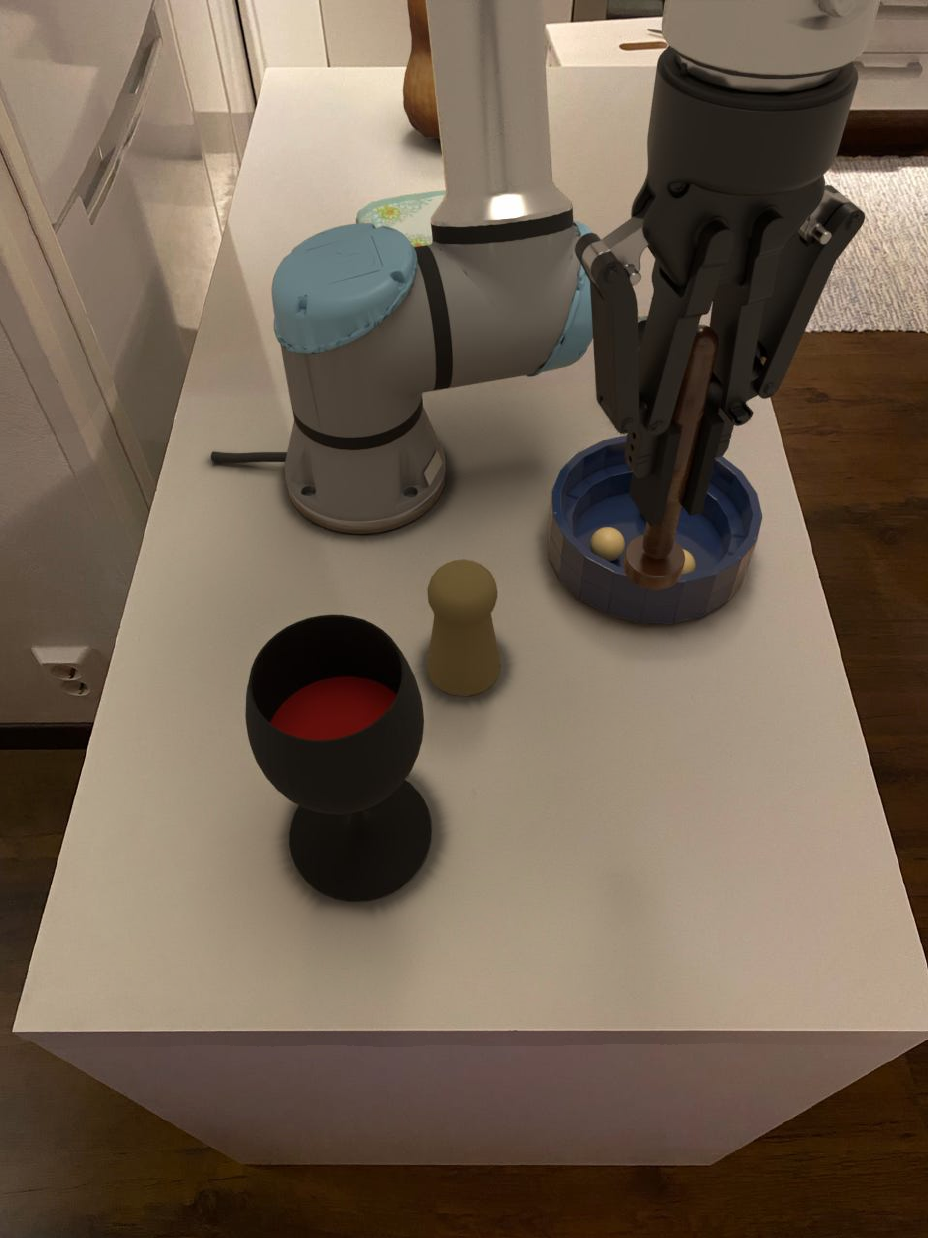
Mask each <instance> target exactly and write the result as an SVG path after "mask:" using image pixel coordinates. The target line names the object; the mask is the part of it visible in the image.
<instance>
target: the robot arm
mask: <svg viewBox="0 0 928 1238" xmlns="http://www.w3.org/2000/svg"><path fill="white" fill-rule="evenodd" d="M881 1H882V0H664V6H663V13H662V19H661V36H662V38H663V39H664V40H665V42H666V44H667V47H666V48H665V49H664V50H663V51H662V52H661V54H660V55H659V57H658V59H657V63H656V70H655V75H654V76H655V77H654V83H653V92H652V98H651V99H652V100H651V107H650V114H649V122H648V129H647V136H646V137H647V138H646V153H647V171H646V175H645V178H644V181H643V183H642V185H641V187H640V190H639V191H638V193H637V194H636V196H635V198H634V199H633V203H632V205H631V210H630V211H631V212H630V217H631V218H629V219H627V220H626V221H625V222H624V223H622V224H620V225H619V226H618V227H616V228H615V229H614V230H613V231H611V232H610V233H608V234H607V235H605V236H604V237H602V238H601V237H600V236H599V235H598V233H594V232H593V231H592V229H591V228H590V227H589V226H588V225H586V224H585V223H583V222H580V221H578V220H574V206H573V201H572V200H571V199H570V198H569V197H568V196H567V195H566V194H564V192H562V191H561V190H560V188H558V187H557V185H556V184H555V182H554V180H553V169H552V152H551V133H550V115H549V114H550V113H549V97H548V96H549V95H548V79H547V77H548V76H547V62H546V61H547V60H546V59H547V58H546V44H545V43H546V42H545V41H546V40H545V26H544V25H545V24H544V23H545V22H544V8H543V7H544V6H543V0H426V8H427V18H428V27H429V37H430V46H431V55H432V65H433V74H434V84H435V93H436V103H437V112H438V122H439V131H440V149H441V158H442V168H443V169H442V170H443V176H444V177H443V179H444V188H445V190H446V194H445V196H444V199H443V201H442V202H441V203H440V205H439V206H438V208H437V209H436V210H435V212H434V213H433V215H432V216H431V230H432V244H430V245H424V246H417V247H413V246H412V244H411V243H410V241H409V239H408V238H407V237H406V236H405V235H404V234H402V233H401V232H400V231H398V230H396V229H394V228H391V227H388V226H384V225H383V226H381V227H379V228H376V227H375V226H374V224H372V223H357V224H356V223H349V224H342V225H339V226H336V227H330V228H328V229H326V230H323V231H320V232H318V233H316V234H314V235H312V236H309V237H307V238H306V239H304V240H303V241H301V242H299V243H298V244H297V245H296V246H295V247H293V248H292V249H291V251H290V252H289V253H288V254H287V255H286V256H284V258H283V259H282V260H281V261H280V263H279V264H278V266H277V268H276V269H275V272H274V274H273V277H272V281H271V293H270V294H271V301H272V308H273V314H274V315H273V316H274V317H273V325H272V326H273V332H274V336H275V339H276V341H277V342H278V343H279V345H280V350H281V356H282V362H283V368H284V373H285V379H286V383H287V389H288V396H289V401H290V406H291V411H292V417H293V423H292V427H291V432H290V437H289V442H288V447H287V450H286V451H263V452H262V451H256V452H255V451H253V452H252V451H251V452H223V451H222V452H221V451H214V450H213V451H211V453H210V460H211V461H212V462H216V463H226V464H243V463H244V464H247V463H284V478H285V483H286V489H287V493H288V495H289V498H290V501H291V502H292V504H293V506H294V507H295V508H296V509H297V510H298V512H299V513H300V514H301V515H302V516H304V517H305V518H306V519H308V520H309V521H310V522H312V523H314V524H316V525H318V526H320V527H321V528H325V529H327V530H331V531H335V532H339V533H345V534H356V535H357V534H358V535H362V534H376V533H383V532H387V531H391V530H394V529H398V528H401V527H402V526H405V525H408V524H409V523H412V522H413V521H415V520H417V519H419V518H420V517H421V516H423V515H424V514H425V513H427V512H428V511H429V510H430V509H432V507H433V506H434V505H435V504H436V502H437V501H438V500H439V498H440V496H441V495H442V493H443V490H444V488H445V484H446V476H447V474H446V473H447V472H446V471H447V470H446V456H445V453H444V449H443V446H442V443H441V441H440V438H439V437H438V434H437V433H436V430H435V429H434V426H433V424H432V422H431V420H430V418H429V415H428V414H427V411H426V409H425V408H424V407H425V406H424V403H423V393H428V392H436V391H441V390H445V389H453V388H458V387H464V386H470V385H476V384H482V383H488V382H495V381H500V380H501V381H502V380H506V379H512V378H518V377H523V376H524V377H525V376H526V377H527V378H530V377H531V378H532V377H537V376H539V375H541V374H542V373H546V372H549V371H553V370H558V369H562V368H567V367H569V366H572V365H574V364H575V363H578V362H579V360H581V359H582V357H583V356H584V355H585V354H586V353H587V350H588V348H589V346H591V343H593V344H592V345H593V360H594V361H593V363H594V379H595V380H594V381H595V397H596V402H597V404H598V406H599V407H600V408H601V409H602V411H603V413H604V414H605V415H606V417H607V418H608V420H609V421H610V423H611V424H612V426H613V427H614V428H615V430H616V431H617V432H618V433H619V434H621V435H627V439H626V441H627V442H626V446H625V447H626V448H625V452H624V457H625V460H626V462H627V464H628V465H629V467H630V468H631V470H632V471H633V476H632V482H631V488H630V494H629V495H630V497H631V498H632V500H633V501H634V503H635V504H636V506H637V508H638V509H639V511H640V512H641V514H642V515H643V517H644V518H645V520H646V521H647V523H648V524H649V526H650V527H651V526H655V525H659V524H662V523H663V518H664V514H665V509H666V504H667V499H668V495H669V490H670V485H671V480H672V476H673V471H674V466H675V462H676V457H677V452H678V447H679V443H680V438H681V431H680V430H679V429H678V427H677V426H676V425H675V423H674V422H673V421H672V420H671V418H672V414H673V411H674V407H675V404H676V401H677V397H678V394H679V390H680V387H681V383H682V380H683V377H684V373H685V370H686V366H687V363H688V359H689V356H690V353H691V349H692V346H693V342H694V339H695V335H696V332H697V328H698V325H700V321H701V319H702V317H703V316H705V315H708V314H709V313H710V311H711V313H710V318H709V319H710V320H709V327H711V328H712V329H713V330H714V331H715V332H716V334H717V336H718V340H719V346H718V351H717V355H716V360H715V364H714V368H713V373H712V377H711V381H710V386H709V390H708V395H707V399H706V403H705V408H704V412H703V416H702V421H701V425H700V430H699V434H698V438H697V443H696V447H695V451H694V456H693V460H692V465H691V469H690V473H689V478H688V482H687V486H686V491H685V495H684V499H683V504H682V506H683V507H684V509H685V510H686V511H687V513H688V514H689V516H692V515H696V514H700V513H702V510H703V506H704V502H705V498H706V494H707V490H708V486H709V483H710V479H711V475H712V471H713V467H714V463H715V459H716V458H717V457H721V456H723V457H724V455H725V453H726V452H727V451H728V449H729V446H730V442H731V438H732V435H733V431H734V428H735V426H736V427H738V426H743V425H745V424H747V423H748V422H749V421H750V420H751V419H752V418H753V416H754V413H755V412H754V411H753V410H752V409H751V407H750V406H749V405H748V404H747V402H749V401H750V400H752V399H754V398H756V397H757V396H758V397H759V398H760V399H763V400H767V399H769V398H771V397H773V396H774V395H776V393H778V391H779V389H780V387H781V385H782V384H783V382H784V378H785V377H786V374H787V372H788V370H789V368H790V365H791V364H792V361H793V358H794V357H795V354H796V352H797V349H798V347H799V345H800V343H801V341H802V338H803V336H804V334H805V332H806V330H807V327H808V325H809V323H810V320H811V318H812V316H813V314H814V311H815V309H816V307H817V305H818V303H819V300H820V298H821V296H822V294H823V292H824V289H825V287H826V285H827V282H828V280H829V278H830V275H831V273H832V271H833V269H834V266H835V264H836V263H837V261H838V259H839V258H840V257H841V256H842V254H843V252H844V251H845V250H846V248H847V247H848V246H849V244H850V243H851V242H852V240H853V239H854V238H855V236H856V235H857V234H858V232H859V231H860V230H861V228H862V227H863V225H864V223H865V220H866V213H865V212H864V211H863V210H862V209H861V208H859V207H858V206H857V204H855V203H854V202H852V201H851V200H850V199H849V198H848V197H847V196H845V195H844V193H841V192H840V191H839V190H838V189H837V188H836V187H834V186H833V185H832V184H831V185H830V184H826V181H825V180H826V179H825V176H824V175H825V174H826V173H827V172H828V171H829V170H830V169H831V168H832V166H833V164H834V162H835V161H836V158H837V155H838V152H839V148H840V145H841V141H842V138H843V134H844V130H845V128H846V125H847V120H848V117H849V113H850V110H851V107H852V103H853V100H854V96H855V93H856V90H857V86H858V82H859V73H858V70H857V68H856V66H855V62H854V61H855V60H857V59H858V58H860V57H861V55H863V53H864V52H865V50H866V49H867V48H868V46H869V42H870V39H871V36H872V32H873V29H874V25H875V21H876V20H877V19H876V18H877V16H878V12H879V8H880V4H881ZM646 249H648V250H649V252H650V253H651V255H652V256H653V258H654V263H653V267H652V271H651V284H652V288H653V292H652V297H651V301H650V305H649V309H648V314H647V316H648V317H647V321H646V325H645V329H644V333H643V338H642V342H641V346H640V350H639V354H638V317H639V307H638V305H639V304H638V299H637V293H636V291H635V289H634V286H636V285H638V284H639V283H640V281H641V280H642V275H641V273H640V272H641V256H642V254H643V252H644V251H645V250H646ZM763 359H765V360H764V362H763Z"/></svg>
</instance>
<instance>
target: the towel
mask: <svg viewBox="0 0 928 1238" xmlns="http://www.w3.org/2000/svg"><path fill="white" fill-rule="evenodd" d="M445 194H446V189H442V190H433V191H432V190H431V191H425V192H419V193H409V194H403V195H402V194H401V195H398V196H392V197H387V198H383V199H378V200H374V201H371V202H369V203H368V204H366V205H365V206H364V207H363V208H361V209H359V210H358V211H357V213H356V217H355V224H357V223H372V224H374V226H375V227H376V228H379V227H381V226H383V225H384V226H388V227H391V228H394V229H396V230H398V231H400V232H401V233H402V234H404V235H405V236H406V237H407V238H408V239H409V241H410V243H411V244H412V246H413V247H417V246H424V245H430V244H432V230H431V216H432V215H433V213H434V212H435V210H436V209H437V208H438V206H439V205H440V203H441V202H442V201H443V199H444V196H445Z"/></svg>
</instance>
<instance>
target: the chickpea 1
mask: <svg viewBox="0 0 928 1238" xmlns="http://www.w3.org/2000/svg"><path fill="white" fill-rule="evenodd" d="M624 547H625V542H624V538H623V536H622V534H621V533H620V532H619V531H618V530H616V529H614V528H611V527H605V528H601V529H599V530H597V531H596V532H595V533H594V534H593V536H592V538H591V541H590V548H591V551H592V553H594V554H595V555H597V556H599V557H601V558H603V559H605V560H607V561H613V560H615V559H617V558H618V557H620V555H621V554H622V553H623V550H624Z"/></svg>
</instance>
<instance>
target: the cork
mask: <svg viewBox="0 0 928 1238" xmlns="http://www.w3.org/2000/svg"><path fill="white" fill-rule="evenodd" d="M426 590H427V600H428V601H427V602H428V605H429V606H430V609H431V611H432V612H433V621H432V628H431V635H430V642H429V649H428V655H427V662H426V667H427V674H428V676H429V678H430V680H431V682H432V684H433V685H435V686H436V687H437V688H438V689H439V690H440V691H443V692H444V693H447V694H449V695H453V696H457V697H467V696H470V697H471V696H474V695H478V694H480V693H483V692H485V691H486V690H488V689H490V688H491V687H492V686H493V685H494V684H495V682H496V681H497V679H498V678H499V675H500V673H501V672H500V671H501V667H502V666H501V665H502V664H501V659H500V653H499V648H498V644H497V638H496V633H495V628H494V627H495V626H494V623H493V617H492V612H493V611H494V609H495V607H496V603H497V600H498V586H497V582H496V579H495V577H494V576H493V573H491V571H490V570H489V569H487V567H485V566H484V565H483V564H482V563H479V562H477V561H475V560H471V559H465V558H464V559H454V560H451V561H447V562H446V563H444V564H443V565H441V566H439V567H438V568H437V569H436V570H435V571H434V573H433V574H432V575H431V576H430V579H429V583H428V586H427V588H426Z"/></svg>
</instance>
